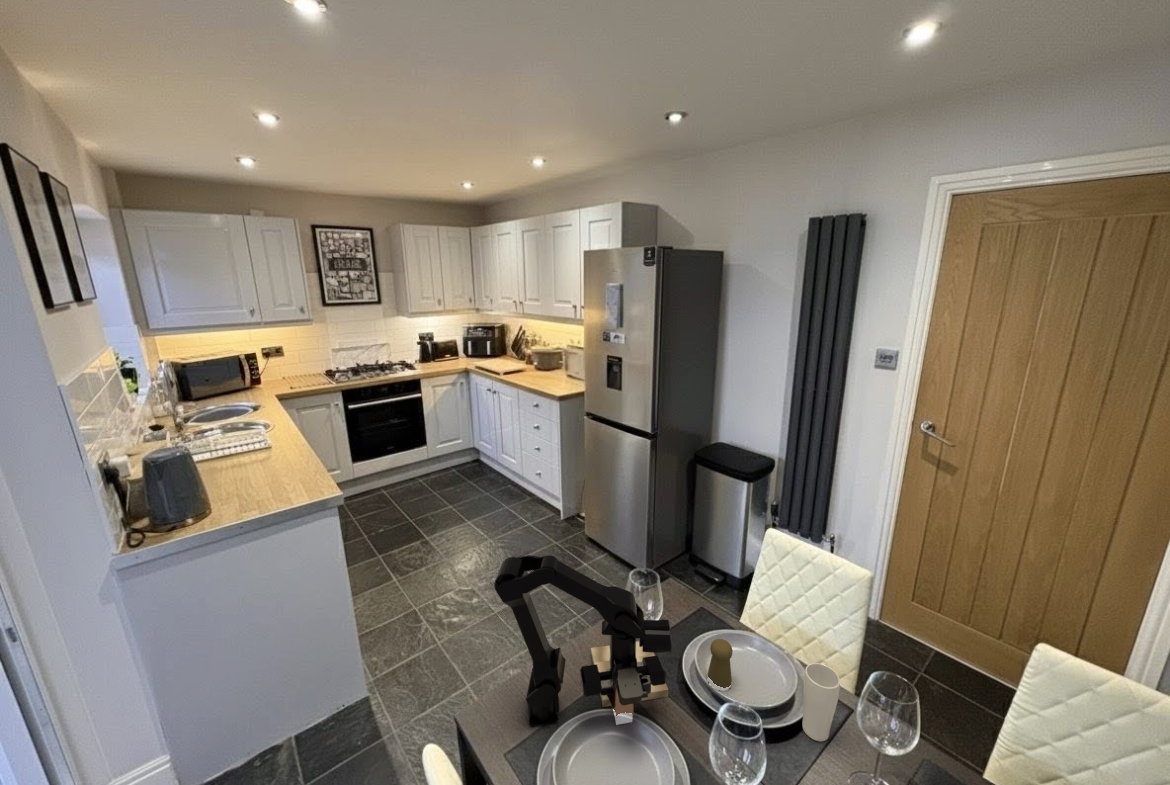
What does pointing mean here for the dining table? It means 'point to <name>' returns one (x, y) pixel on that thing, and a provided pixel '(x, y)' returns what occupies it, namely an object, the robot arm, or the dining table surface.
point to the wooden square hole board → (603, 662)
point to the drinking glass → (819, 700)
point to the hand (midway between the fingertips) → (622, 705)
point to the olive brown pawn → (720, 663)
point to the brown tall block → (618, 706)
